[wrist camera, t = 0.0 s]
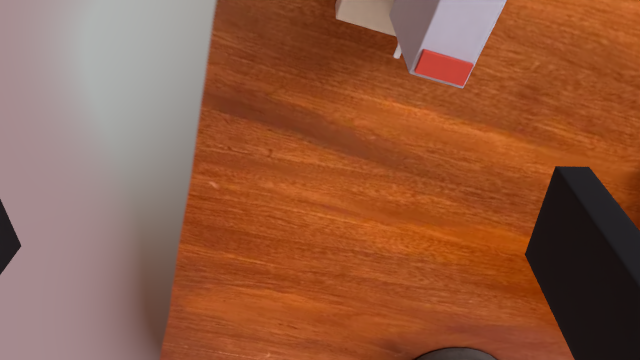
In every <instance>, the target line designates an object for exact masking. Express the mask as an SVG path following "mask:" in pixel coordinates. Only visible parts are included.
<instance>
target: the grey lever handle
mask: <svg viewBox="0 0 640 360" xmlns="http://www.w3.org/2000/svg"><path fill="white" fill-rule="evenodd" d="M506 1H507V0H395V1H394V4H393V6H392V9H391V12H390V14H389V17H390V20H391V22H392V25H393V28H394V31H395V34H396V37H397V40H398V42H399V45H400V48H401V51H402V54H403V57H404V60H405V62H406V65H407V68H408V71H409V73H410V74H413V75H416V76H420V77H423V78H427V79H430V80H434V81H437V82H441V83H444V84H448V85H451V86H455V87H458V88H463V87H464V85H465V83H466V81H467V79H468V77H469V75H470V73H471V71H472V69H473V67H474V65H475V63H476V61H477V59H478V57H479V55H480V53H481V51H482V49H483V47H484V45H485V43H486V41H487V39H488V37H489V35H490V33H491V31H492V29H493V27H494V25H495V23H496V21H497V19H498V17H499V15H500V13H501V11H502V9H503V7H504V5H505V3H506Z"/></svg>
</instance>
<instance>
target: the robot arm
mask: <svg viewBox="0 0 640 360" xmlns="http://www.w3.org/2000/svg"><path fill="white" fill-rule="evenodd" d="M20 247H21V244H20V242H19V240H18V238H17V235H16V233H15V231H14V228H13V226H12V224H11V222H10V220H9V217H8V215H7V213H6V211H5V208H4V206H3V204H2V202H1V200H0V274H1V273H2V272H3V270H4V269H5V268H6V266H7V265H8V263H9V262H10V261H11V259H12V258H13V257H14V255H15V254H16V252H17V251H18V250H19V249H20ZM525 256H526V258H527V260H528V262H529V264H530V266H531V268H532V271H533V273H534V275H535V277H536V279H537V281H538V283H539V285H540V287H541V290H542V292H543V294H544V296H545V298H546V300H547V302H548V304H549V306H550V309H551V311H552V313H553V315H554V317H555V319H556V321H557V323H558V325H559V327H560V330H561V332H562V334H563V336H564V338H565V340H566V342H567V344H568V346H569V349H570V351H571V353H572V355H573V357H574V359H575V360H640V231H639V230H638V228H637V227H636V226H635V225H634V223H633V222H632V221H631V220H630V218H629V217H628V216H627V215H626V213H625V212H624V211H623V209H622V208H621V207H620V206H619V204H618V203H617V202H616V201H615V199H614V198H613V197H612V196H611V194H610V193H609V192H608V190H607V189H606V188H605V187H604V185H603V184H602V183H601V182H600V180H599V179H598V178H597V177H596V175H595V174H594V173H593V171H592V170H591V169H590V168H589V167H560V166H555V169H554V172H553V175H552V178H551V181H550V184H549V187H548V190H547V192H546V195H545V198H544V201H543V204H542V207H541V210H540V213H539V215H538V218H537V221H536V224H535V227H534V230H533V233H532V236H531V239H530V241H529V244H528V247H527V250H526V253H525Z"/></svg>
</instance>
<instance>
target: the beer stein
mask: <svg viewBox="0 0 640 360" xmlns="http://www.w3.org/2000/svg"><path fill="white" fill-rule="evenodd" d="M416 360H496V359H495V358H494V357H492V356H491V355H489V354H487V353H484V352H481V351H478V350H474V349H469V348H448V349H442V350H438V351H434V352H431V353H428V354H425V355H423V356H421V357H420V358H418V359H416Z"/></svg>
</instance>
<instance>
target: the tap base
mask: <svg viewBox="0 0 640 360" xmlns="http://www.w3.org/2000/svg"><path fill="white" fill-rule="evenodd" d="M394 1H395V0H337V1H336V4H335V10H336V19H338V20H342V21H345V22H348V23H352V24H355V25H359V26H362V27H365V28H369V29H372V30H375V31H379V32H382V33H386V34H389V35H392V36H396V34H395V31H394V28H393V25H392V22H391V20H390V17H389V14H390V12H391V9H392V6H393V4H394ZM401 52H402V51H401V48H400V45H399V42H398V45H397V47H396V50H395V52H394V55H393V57H395V58H398V59H399V57H400V55H401Z"/></svg>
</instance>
